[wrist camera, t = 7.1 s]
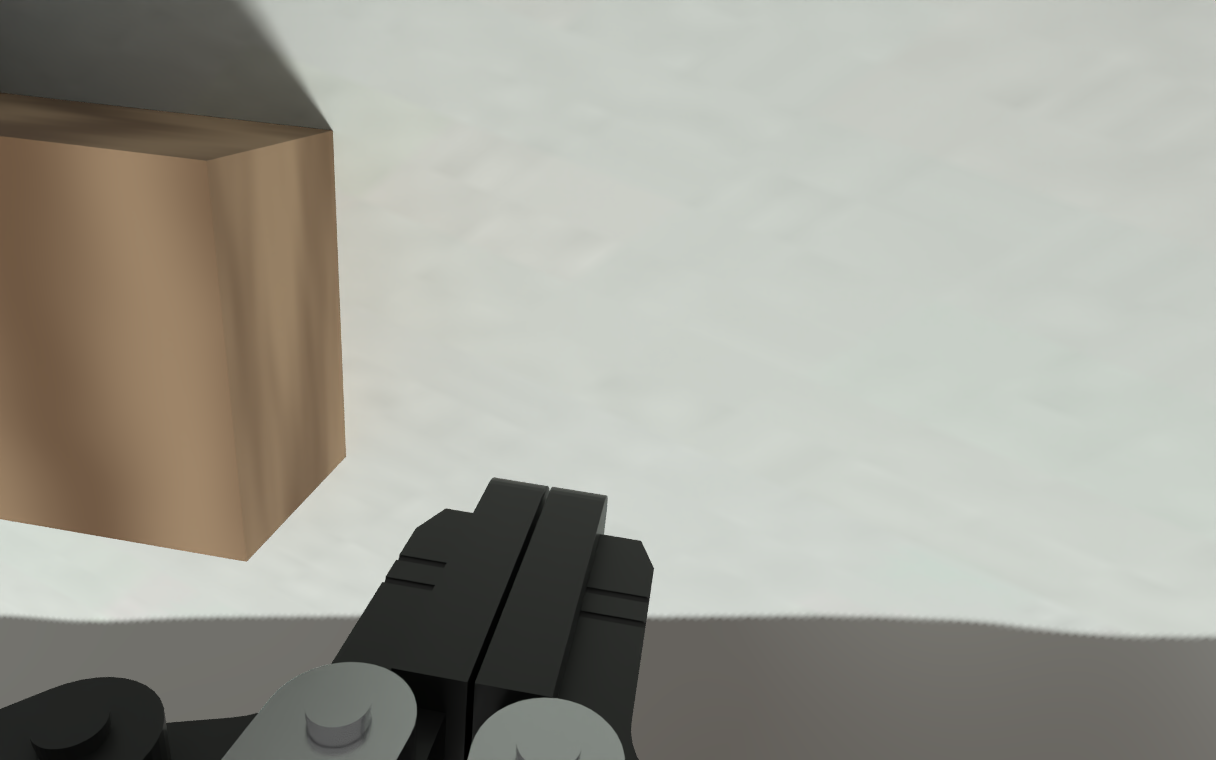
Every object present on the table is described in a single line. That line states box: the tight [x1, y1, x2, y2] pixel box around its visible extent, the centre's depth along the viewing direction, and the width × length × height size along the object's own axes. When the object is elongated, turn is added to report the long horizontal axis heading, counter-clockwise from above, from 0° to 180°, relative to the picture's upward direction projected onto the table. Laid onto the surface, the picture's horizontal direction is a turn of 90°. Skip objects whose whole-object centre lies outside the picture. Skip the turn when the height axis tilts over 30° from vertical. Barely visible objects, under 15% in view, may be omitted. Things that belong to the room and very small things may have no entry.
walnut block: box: [0, 93, 346, 562], centre depth 23 cm, size 10×10×6 cm
